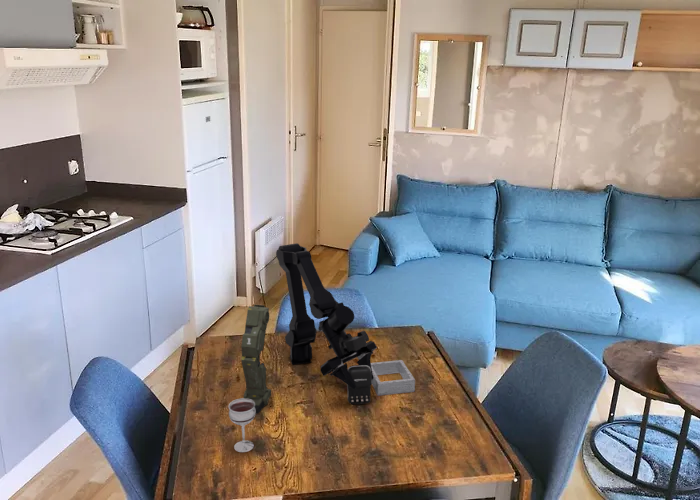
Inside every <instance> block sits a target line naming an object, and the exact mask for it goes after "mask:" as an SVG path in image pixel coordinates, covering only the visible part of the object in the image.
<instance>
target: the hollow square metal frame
mask: <svg viewBox="0 0 700 500" xmlns="http://www.w3.org/2000/svg"><path fill="white" fill-rule="evenodd" d="M371 368H372V373H373V379H372V385H371V386H372V387H373V390H374V391H375V393H376V395H377V396H389V395H396V394H406V393H413V392H415V391H416V389H415V388H416V387H415V386H416V379H415V377H414V376H413V374H412V373H411V371H410V370H409V369H408V367H407V365H406V364H405V363H404V360H402V359H399V360H397V359H396V360H388V361H379V362H378V361H376V362H371ZM391 374H400V376H401V378H402V379H395V380H388V381H387V380H385V381H381V380H380V378H379V376H382V375H391Z"/></svg>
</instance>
